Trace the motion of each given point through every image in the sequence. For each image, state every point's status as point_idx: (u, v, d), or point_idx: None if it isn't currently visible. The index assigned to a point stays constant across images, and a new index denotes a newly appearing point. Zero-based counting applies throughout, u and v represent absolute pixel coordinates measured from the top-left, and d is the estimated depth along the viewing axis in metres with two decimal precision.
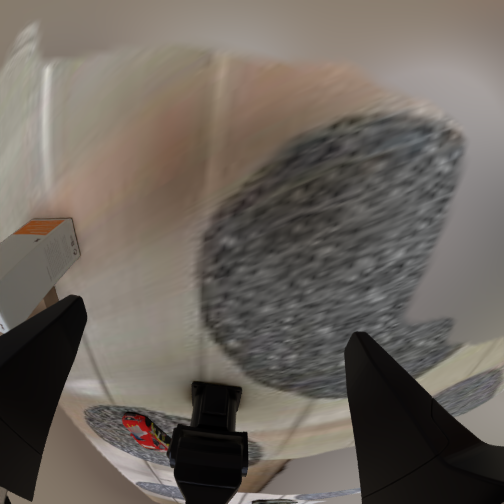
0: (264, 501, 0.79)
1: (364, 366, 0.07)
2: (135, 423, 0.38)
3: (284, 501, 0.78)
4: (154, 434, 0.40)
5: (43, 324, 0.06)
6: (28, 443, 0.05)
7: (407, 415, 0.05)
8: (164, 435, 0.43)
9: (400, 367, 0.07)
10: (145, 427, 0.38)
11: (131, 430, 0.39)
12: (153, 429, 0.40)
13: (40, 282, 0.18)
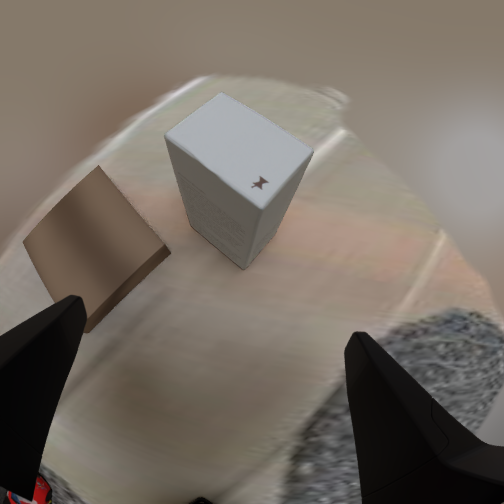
0: None
1: (364, 366, 0.07)
2: None
3: None
4: None
5: (43, 324, 0.06)
6: (28, 443, 0.05)
7: (407, 415, 0.05)
8: None
9: (400, 367, 0.07)
10: (42, 498, 0.13)
11: None
12: None
13: (266, 230, 0.17)
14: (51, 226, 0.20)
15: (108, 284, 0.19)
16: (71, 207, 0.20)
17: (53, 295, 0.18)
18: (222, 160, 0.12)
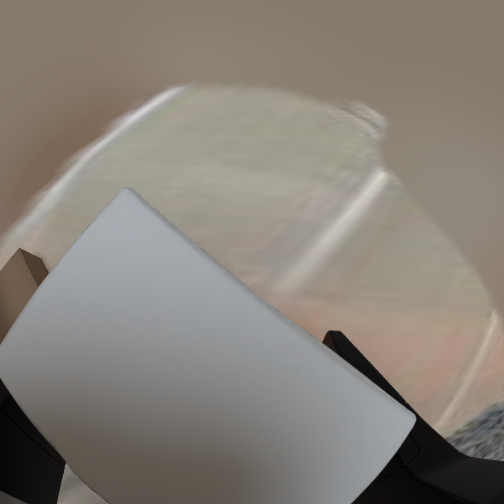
0: None
1: None
2: None
3: None
4: None
5: None
6: (50, 455, 0.05)
7: None
8: None
9: (373, 369, 0.07)
10: None
11: None
12: None
13: None
14: None
15: None
16: None
17: None
18: (139, 492, 0.03)
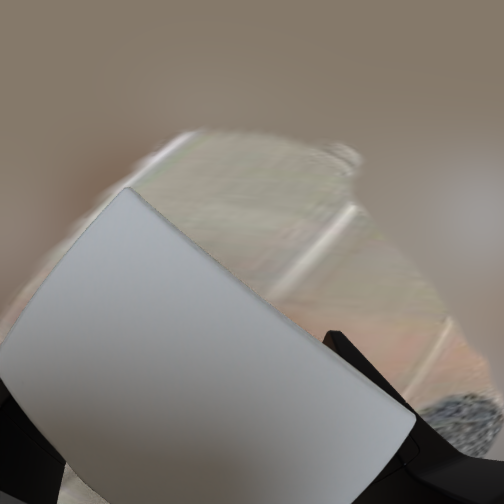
0: None
1: None
2: None
3: None
4: None
5: None
6: (50, 455, 0.05)
7: None
8: None
9: (373, 369, 0.07)
10: None
11: None
12: None
13: None
14: None
15: None
16: None
17: None
18: (140, 492, 0.03)
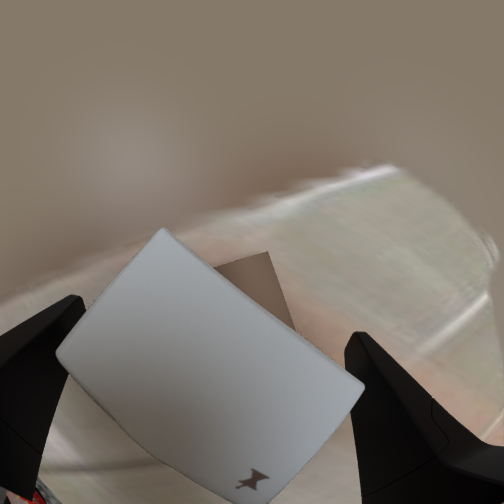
0: None
1: (364, 366, 0.07)
2: None
3: None
4: None
5: (43, 324, 0.06)
6: (28, 443, 0.05)
7: (407, 415, 0.05)
8: None
9: (400, 367, 0.07)
10: None
11: None
12: None
13: None
14: None
15: None
16: None
17: None
18: (172, 438, 0.05)
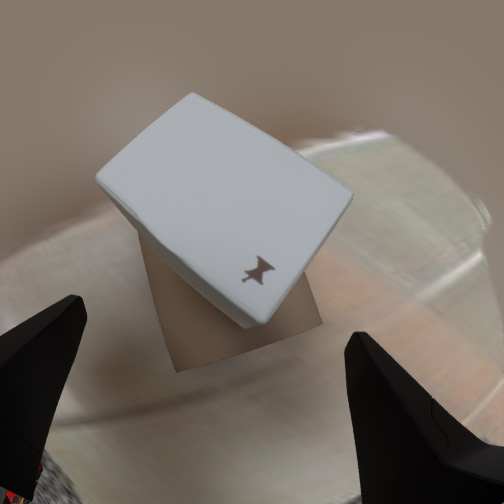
0: None
1: (364, 366, 0.07)
2: None
3: None
4: None
5: (43, 324, 0.06)
6: (28, 443, 0.05)
7: (407, 415, 0.05)
8: None
9: (400, 367, 0.07)
10: None
11: None
12: None
13: None
14: None
15: (244, 340, 0.17)
16: None
17: (162, 319, 0.17)
18: (186, 224, 0.06)
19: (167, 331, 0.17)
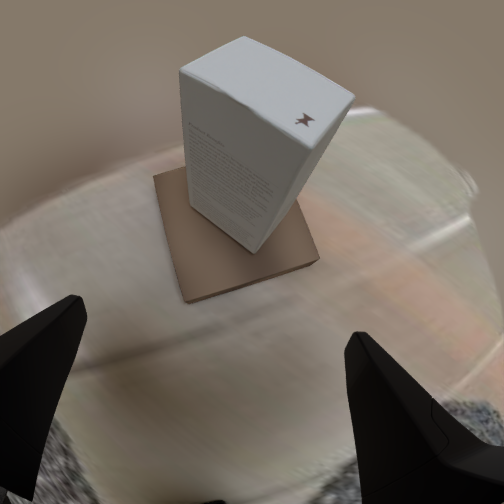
0: None
1: (364, 366, 0.07)
2: None
3: None
4: None
5: (43, 324, 0.06)
6: (28, 443, 0.05)
7: (407, 415, 0.05)
8: None
9: (400, 367, 0.07)
10: None
11: None
12: None
13: (291, 196, 0.14)
14: None
15: (248, 270, 0.20)
16: None
17: (173, 251, 0.19)
18: (255, 94, 0.09)
19: (177, 263, 0.19)
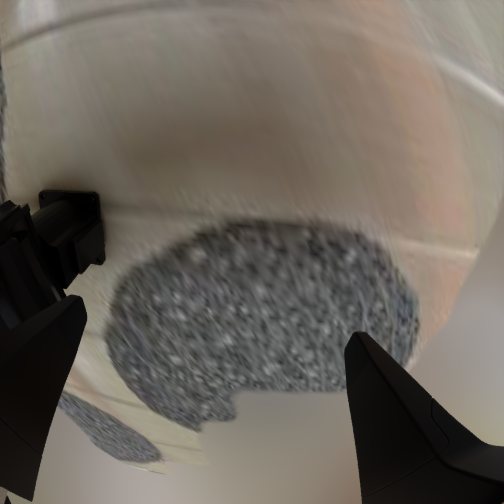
0: None
1: (364, 366, 0.07)
2: None
3: None
4: None
5: (43, 324, 0.06)
6: (28, 443, 0.05)
7: (407, 415, 0.05)
8: None
9: (400, 367, 0.07)
10: None
11: None
12: None
13: None
14: None
15: None
16: None
17: None
18: None
19: None
